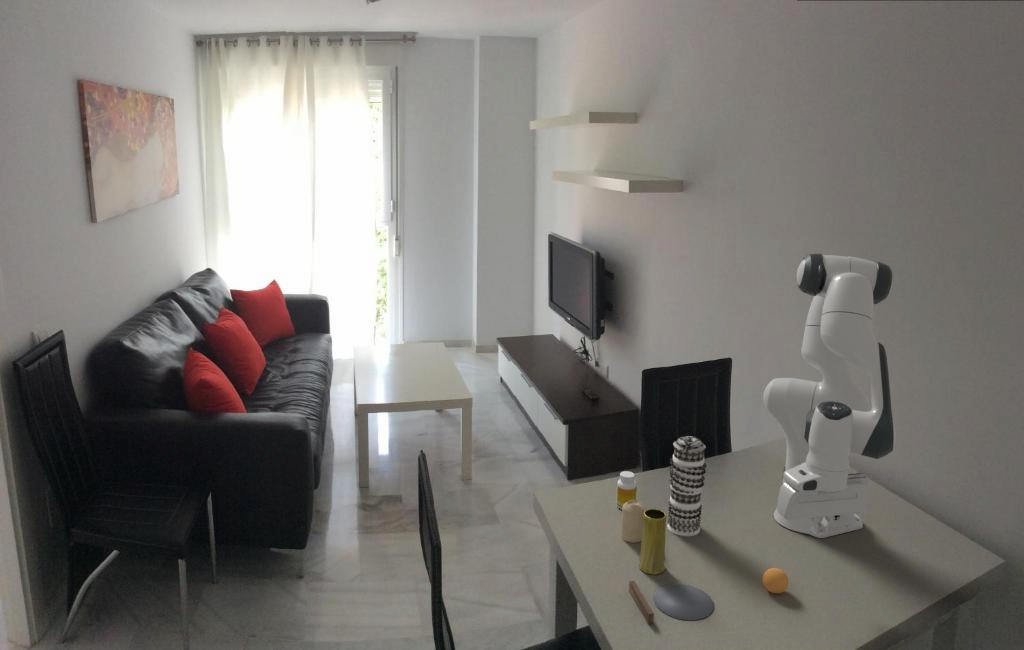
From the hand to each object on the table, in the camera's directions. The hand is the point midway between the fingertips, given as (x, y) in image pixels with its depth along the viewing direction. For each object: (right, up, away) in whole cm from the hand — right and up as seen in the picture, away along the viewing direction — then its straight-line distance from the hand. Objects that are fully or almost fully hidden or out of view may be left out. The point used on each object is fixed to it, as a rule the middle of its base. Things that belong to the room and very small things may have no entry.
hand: (819, 532), depth 168 cm
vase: (-36, -12, +11) cm, 39 cm away
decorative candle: (-24, -7, +29) cm, 38 cm away
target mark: (-31, -15, -2) cm, 34 cm away
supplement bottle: (-37, -4, +40) cm, 55 cm away
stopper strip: (-41, -15, -4) cm, 44 cm away
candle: (-38, -8, +24) cm, 46 cm away
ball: (-9, -11, +1) cm, 15 cm away
